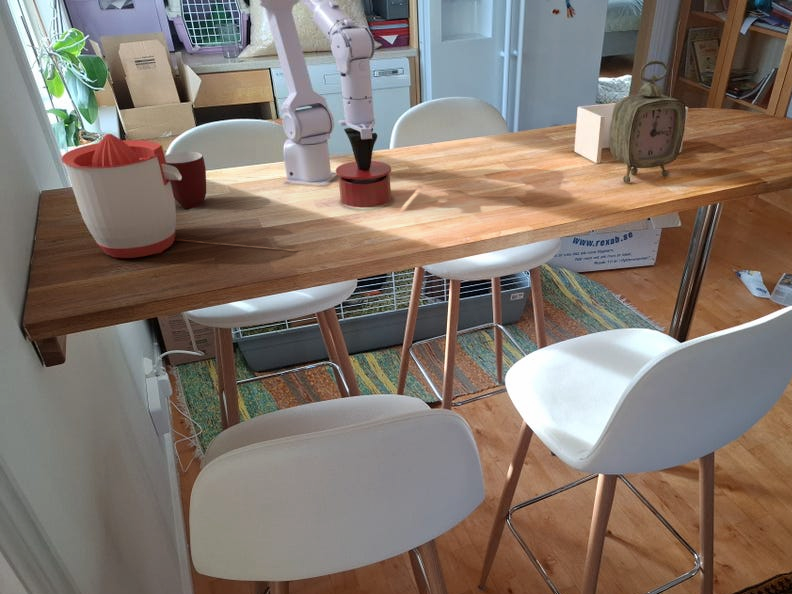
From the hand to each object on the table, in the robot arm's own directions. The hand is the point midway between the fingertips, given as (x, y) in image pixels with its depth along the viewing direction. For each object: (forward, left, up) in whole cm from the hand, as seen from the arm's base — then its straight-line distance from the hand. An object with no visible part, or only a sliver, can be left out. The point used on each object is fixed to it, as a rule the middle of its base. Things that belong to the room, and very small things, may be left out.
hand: (363, 166), depth 141 cm
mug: (-35, -11, -8) cm, 37 cm away
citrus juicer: (-31, -31, -8) cm, 44 cm away
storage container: (+53, +49, -8) cm, 73 cm away
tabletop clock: (+56, +29, -8) cm, 64 cm away
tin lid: (0, 0, -1) cm, 1 cm away
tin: (0, 0, -7) cm, 7 cm away
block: (0, 0, -7) cm, 7 cm away
